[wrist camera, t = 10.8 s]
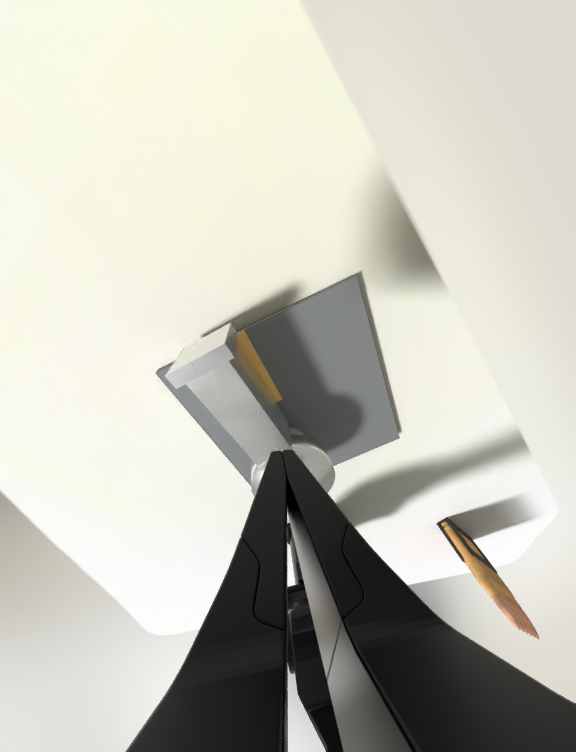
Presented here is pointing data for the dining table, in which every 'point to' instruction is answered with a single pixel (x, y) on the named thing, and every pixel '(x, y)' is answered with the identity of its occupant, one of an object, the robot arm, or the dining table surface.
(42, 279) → the dining table surface
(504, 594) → the ammunition clip
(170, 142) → the dining table surface
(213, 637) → the robot arm
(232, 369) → the elbow
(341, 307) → the base
